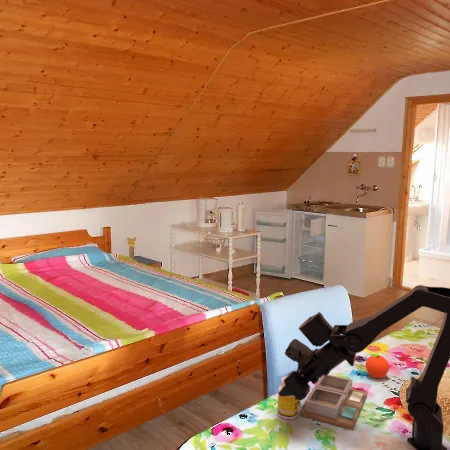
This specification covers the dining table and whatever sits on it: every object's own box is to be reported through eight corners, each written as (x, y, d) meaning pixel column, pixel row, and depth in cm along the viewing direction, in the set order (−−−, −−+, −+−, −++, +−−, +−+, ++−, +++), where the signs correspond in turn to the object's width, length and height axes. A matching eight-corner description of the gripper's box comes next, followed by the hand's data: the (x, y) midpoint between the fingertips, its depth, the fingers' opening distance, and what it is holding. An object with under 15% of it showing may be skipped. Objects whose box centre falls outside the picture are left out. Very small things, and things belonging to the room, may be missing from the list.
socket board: (353, 429, 119) (353, 423, 119) (299, 415, 126) (299, 409, 125) (366, 396, 136) (367, 390, 136) (318, 385, 142) (319, 379, 142)
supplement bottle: (297, 421, 123) (298, 385, 122) (276, 418, 124) (277, 383, 123) (298, 410, 128) (299, 375, 127) (278, 407, 129) (279, 373, 128)
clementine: (357, 374, 149) (358, 353, 148) (370, 368, 153) (371, 347, 152) (380, 384, 143) (381, 362, 142) (392, 377, 147) (394, 355, 146)
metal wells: (337, 419, 122) (337, 409, 121) (304, 411, 125) (305, 400, 125) (351, 389, 137) (352, 379, 137) (322, 382, 141) (322, 373, 140)
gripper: (315, 321, 129) (276, 352, 136) (293, 346, 113) (249, 379, 119) (343, 354, 127) (301, 384, 133) (324, 384, 110) (278, 416, 117)
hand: (283, 389), depth 126 cm, fingers closed on supplement bottle, 5 cm apart
